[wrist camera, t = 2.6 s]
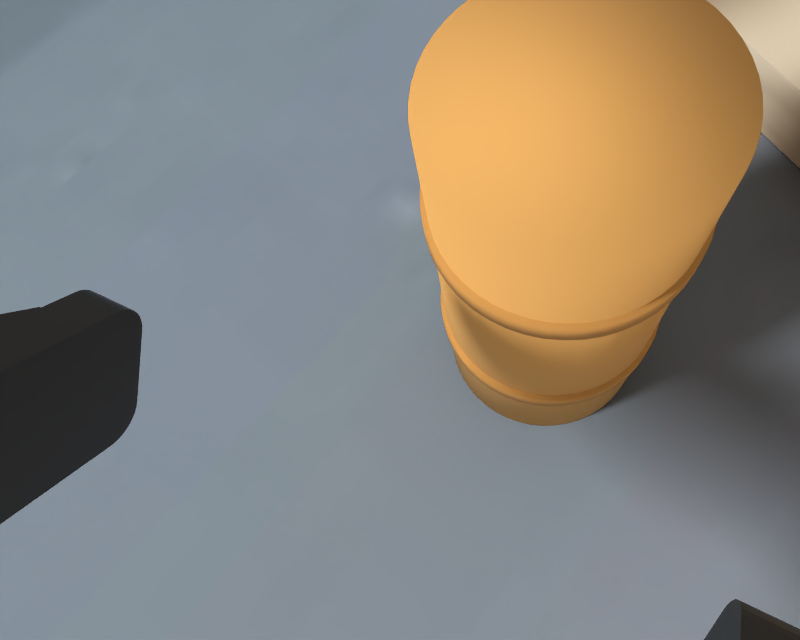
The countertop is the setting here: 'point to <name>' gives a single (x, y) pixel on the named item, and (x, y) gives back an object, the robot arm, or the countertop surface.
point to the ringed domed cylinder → (574, 184)
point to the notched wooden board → (773, 63)
